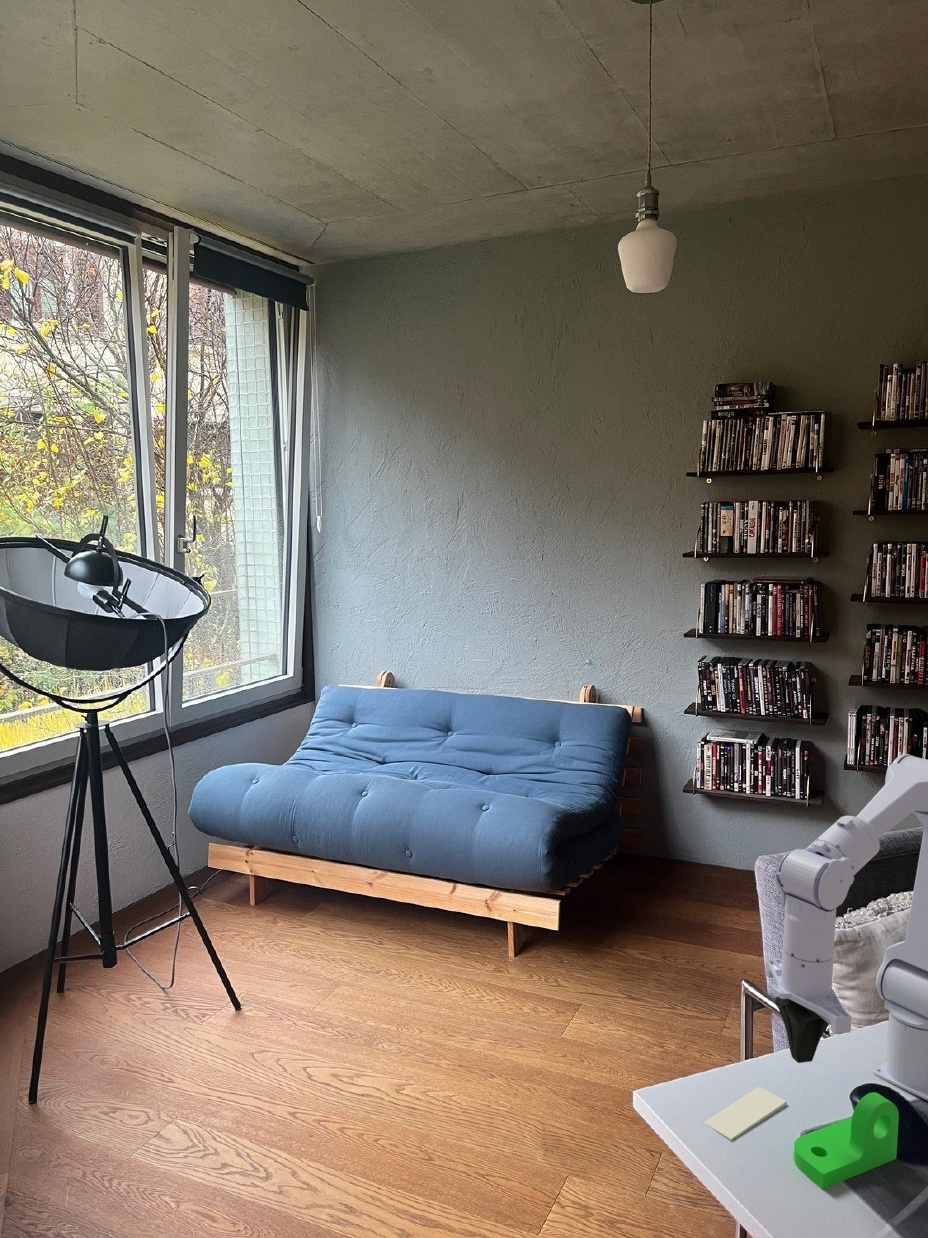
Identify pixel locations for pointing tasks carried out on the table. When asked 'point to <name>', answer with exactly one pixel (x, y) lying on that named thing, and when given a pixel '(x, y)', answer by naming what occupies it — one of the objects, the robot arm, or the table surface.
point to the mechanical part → (850, 1143)
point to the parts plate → (745, 1113)
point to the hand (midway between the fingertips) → (802, 1059)
